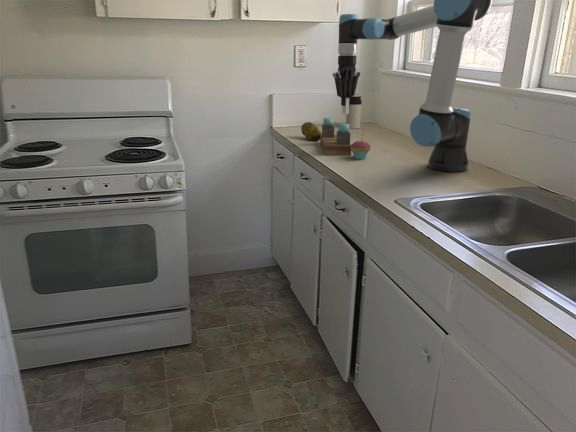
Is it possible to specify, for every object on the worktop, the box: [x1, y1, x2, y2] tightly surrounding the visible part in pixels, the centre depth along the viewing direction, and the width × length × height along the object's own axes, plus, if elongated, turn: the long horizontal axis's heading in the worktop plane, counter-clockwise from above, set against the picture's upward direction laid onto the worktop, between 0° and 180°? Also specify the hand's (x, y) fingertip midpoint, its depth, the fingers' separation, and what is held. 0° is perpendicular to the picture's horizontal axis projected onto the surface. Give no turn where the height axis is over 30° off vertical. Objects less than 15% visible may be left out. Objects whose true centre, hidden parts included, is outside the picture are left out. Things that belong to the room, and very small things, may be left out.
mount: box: [319, 124, 352, 156], centre depth 216 cm, size 26×11×9 cm, turn 1°
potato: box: [300, 121, 322, 142], centre depth 236 cm, size 8×13×8 cm, turn 15°
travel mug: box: [345, 93, 363, 130], centre depth 266 cm, size 8×8×18 cm
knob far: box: [322, 117, 334, 126], centre depth 222 cm, size 5×5×8 cm
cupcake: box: [350, 128, 371, 160], centre depth 199 cm, size 9×8×12 cm
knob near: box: [337, 123, 350, 133], centre depth 208 cm, size 5×5×8 cm
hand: (345, 113), depth 204 cm, fingers closed
